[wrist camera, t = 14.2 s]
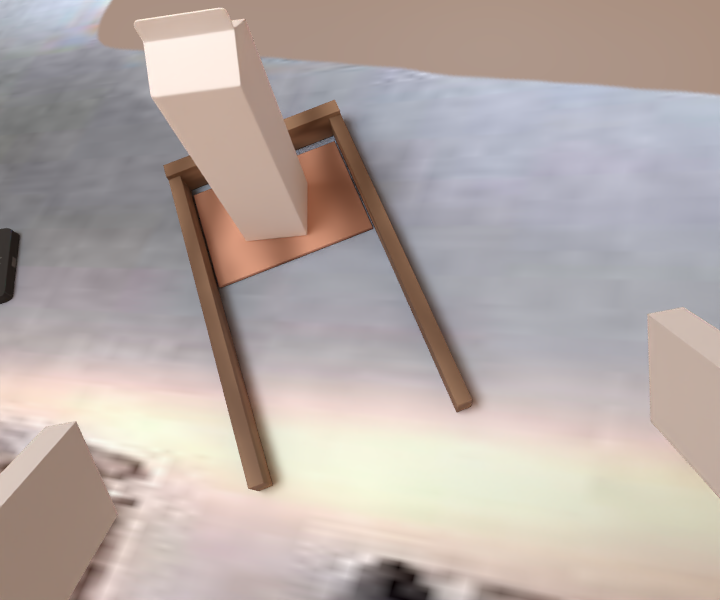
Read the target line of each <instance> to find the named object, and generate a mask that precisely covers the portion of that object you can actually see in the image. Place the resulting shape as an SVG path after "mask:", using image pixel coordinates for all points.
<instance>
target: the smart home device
mask: <svg viewBox="0 0 720 600" xmlns="http://www.w3.org/2000/svg"><path fill="white" fill-rule="evenodd" d="M18 244H19V235H18V234H17V233H15V232H14V231H13V230H11V229H8V228H4V229H0V304H2V303H5V302H7V301H9V300H11V299H12V297H13V289H14V280H15V271H16V262H17V253H18Z"/></svg>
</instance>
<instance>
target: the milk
mask: <svg viewBox="0 0 720 600" xmlns="http://www.w3.org/2000/svg"><path fill="white" fill-rule="evenodd" d="M134 27H135V29H136V31H137V32H138V34H139V36H140V37H141V39H142V41H143V43H144V50H145V57H146V64H147V71H148V79H149V86H150V93H151V97H152V99H153V100H154V102H155V103H156V105H157V106H158V108H159V109H160V111H161V112H162V114H163V115H164V117H165V118H166V120H167V122H168V123H169V125H170V126H171V128H172V129H173V131H174V132H175V134H176V135H177V137H178V138H179V140H180V141H181V143H182V144H183V146H184V147H185V149H186V150H187V152H188V153H189V155H190V156H191V158H192V159H193V161H194V162H195V164H196V165H197V167H198V168H199V170H200V171H201V173H202V175H203V176H204V178H205V179H206V181H207V182H208V184H209V185H210V187H211V188H212V190H213V191H214V193H215V194H216V196H217V197H218V199H219V200H220V202H221V203H222V205H223V206H224V208H225V209H226V211H227V212H228V214H229V215H230V217H231V218H232V220H233V221H234V223H235V224H236V226H237V228H238V229H239V231H240V232H241V234H242V235H243V237H244V238H245V240H246V241H254V240H264V239H274V238H284V237H294V236H304V235H307V193H308V184H307V180H306V178H305V175H304V172H303V170H302V167H301V165H300V162H299V159H298V157H297V154H296V151H295V149H294V146H293V143H292V141H291V138H290V135H289V133H288V130H287V128H286V125H285V122H284V120H283V117H282V114H281V112H280V109H279V106H278V104H277V101H276V98H275V96H274V93H273V91H272V88H271V85H270V83H269V80H268V77H267V75H266V72H265V69H264V67H263V64H262V61H261V59H260V56H259V54H258V51H257V49H256V46H255V43H254V40H253V38H252V35H251V33H250V30H249V27H248V24H247V22H246V20H245V19H240V20H232V21H231V19H230V16H229V14H228V12H227V11H226V10H225V9H223V8H214V9H208V10H201V11H194V12H188V13H181V14H174V15H167V16H161V17H154V18H148V19H141V20H136V21H135V22H134Z"/></svg>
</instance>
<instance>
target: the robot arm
mask: <svg viewBox="0 0 720 600" xmlns="http://www.w3.org/2000/svg"><path fill="white" fill-rule="evenodd" d="M647 316H648V349H649V383H650V416H651V422H652V423H653V425H654V426H655V427H656V428H657V429H658V430H659V431H660V432H661V433H662V435H663V436H664V437H665V438H666V439H667V440H668V441H669V442H670V443H671V445H672V446H673V447H674V448H675V449H676V450H677V451H678V452H679V453H680V455H681V456H682V457H683V458H684V459H685V460H686V461H687V462H688V463H689V465H690V466H691V467H692V468H693V469H694V470H695V471H696V472H697V473H698V475H699V476H700V477H701V478H702V479H703V480H704V481H705V482H706V483H707V485H708V486H709V487H710V488H711V489H712V490H713V491H714V492H715V493H716V495H717V496H718V497H719V498H720V330H718V329H717V328H715V327H714V326H712V325H710V324H709V323H707V322H706V321H704V320H703V319H701V318H700V317H698V316H696V315H695V314H693V313H692V312H690V311H689V310H687V309H686V308H684V307H682V308H677V309H671V310H666V311H661V312H655V313H650V314H647ZM117 515H118V513H117V511H116V508H115V506H114V504H113V502H112V500H111V497H110V495H109V493H108V491H107V489H106V486H105V484H104V482H103V480H102V478H101V475H100V473H99V471H98V469H97V466H96V464H95V462H94V460H93V458H92V455H91V453H90V451H89V449H88V447H87V444H86V442H85V440H84V438H83V436H82V433H81V431H80V429H79V427H78V424H77V422H76V421H75V422H70V423H64V424H59V425H54V426H48V427H45V428H44V429H43V430H42V431H41V432H40V433H39V434H38V435H37V436H36V437H35V438H34V439H33V440H32V441H31V443H30V444H29V445H28V446H27V447H26V448H25V449H24V450H23V451H22V452H21V453H20V454H19V455H18V456H17V457H16V458H15V459H14V460H13V461H12V462H11V463H10V464H9V465H8V467H7V468H6V469H5V470H4V471H3V472H2V473H1V474H0V600H68V599H69V597H70V596H71V594H72V592H73V591H74V589H75V587H76V585H77V584H78V582H79V580H80V578H81V577H82V575H83V573H84V572H85V570H86V568H87V566H88V565H89V563H90V561H91V560H92V558H93V556H94V554H95V553H96V551H97V549H98V548H99V546H100V544H101V542H102V541H103V539H104V537H105V536H106V534H107V532H108V530H109V529H110V527H111V525H112V524H113V522H114V520H115V518H116V517H117Z"/></svg>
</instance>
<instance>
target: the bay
mask: <svg viewBox="0 0 720 600" xmlns="http://www.w3.org/2000/svg"><path fill="white" fill-rule="evenodd" d="M283 120H284V122H285V125H286V128H287V130H288V133H289V135H290V138H291V141H292V143H293V146H294V149H295V150H297V149H300V148H302V147H305V146H307V145H310V144H313V143H315V142H318V141H320V140H323V139H326V138H328V137H331V136H333V135H334V137H335V140H336V142H337V144H338V146H339V149H340V151H341V153H342V155H343V158H344V160H345V162H346V164H347V167H348V169H349V171H350V173H351V176H352V178H353V180H354V182H355V185H356V187H357V189H358V191H359V194H360V196H361V198H362V200H363V203H364V205H365V207H366V209H367V212H368V214H369V216H370V218H371V221H372V223H373V225H374V227H375V230H376V232H377V234H378V236H379V239H380V241H381V243H382V245H383V248H384V250H385V252H386V254H387V257H388V259H389V261H390V263H391V266H392V268H393V270H394V272H395V275H396V277H397V279H398V281H399V284H400V286H401V288H402V290H403V293H404V295H405V297H406V299H407V302H408V304H409V306H410V308H411V311H412V313H413V315H414V317H415V320H416V322H417V324H418V326H419V329H420V331H421V333H422V335H423V338H424V340H425V342H426V344H427V347H428V349H429V351H430V353H431V356H432V358H433V360H434V362H435V365H436V367H437V369H438V372H439V374H440V376H441V378H442V381H443V383H444V385H445V387H446V390H447V392H448V394H449V396H450V399H451V401H452V403H453V405H454V408H455V410H456V412H459V411H461V410H464V409H466V408H469V407H471V403H472V398H471V396H470V394H469V391H468V389H467V387H466V385H465V383H464V381H463V378H462V376H461V374H460V372H459V370H458V368H457V365H456V363H455V361H454V359H453V357H452V355H451V352H450V350H449V348H448V346H447V344H446V342H445V339H444V337H443V335H442V333H441V331H440V329H439V326H438V324H437V322H436V320H435V318H434V316H433V313H432V311H431V309H430V307H429V305H428V303H427V300H426V298H425V296H424V294H423V292H422V290H421V287H420V285H419V283H418V281H417V279H416V277H415V274H414V272H413V270H412V268H411V266H410V264H409V261H408V259H407V257H406V255H405V253H404V251H403V248H402V246H401V244H400V242H399V240H398V238H397V235H396V233H395V231H394V229H393V227H392V225H391V222H390V220H389V218H388V216H387V214H386V212H385V209H384V207H383V205H382V203H381V201H380V199H379V196H378V194H377V192H376V190H375V188H374V186H373V183H372V181H371V179H370V177H369V175H368V173H367V170H366V168H365V166H364V164H363V162H362V160H361V157H360V155H359V153H358V151H357V149H356V147H355V144H354V142H353V140H352V138H351V136H350V134H349V131H348V129H347V127H346V125H345V123H344V121H343V118H342V116H341V114H340V110H339V108H338V106H337V104H336V101H335V100H333V101H330V102H328V103H325V104H322V105H320V106H317V107H315V108H312V109H309V110H307V111H304V112H302V113H299V114H296V115H294V116H291V117H289V118H286V119H283ZM297 157H298V159H299V162H300V165H301V167H302V170H303V172H304V175H305V178H306V180H307V184H308V193H307V235H304V236H294V237H284V238H274V239H264V240H254V241H246V240H245V238H244V237H243V235H242V234H241V232H240V231H239V229H238V228H237V226H236V224H235V223H234V221H233V220H232V218H231V217H230V215H229V214H228V212H227V211H226V209H225V208H224V206H223V205H222V203H221V202H220V200H219V199H218V197H217V196H216V194H215V193H214V191H213V190H212V189H209V190H207V191H204V192H201V193H199V194H196V195H194V199H195V202H196V206H197V209H198V213H199V217H200V220H201V224H202V227H203V231H204V234H205V238H206V242H207V245H208V249H209V252H210V256H211V260H212V263H213V267H214V270H215V274H216V277H217V281H218V285H219V287H220V288H222V287H224V286H227V285H230V284H232V283H235V282H237V281H240V280H242V279H245V278H248V277H250V276H253V275H255V274H258V273H260V272H263V271H266V270H268V269H271V268H273V267H276V266H278V265H281V264H283V263H286V262H289V261H291V260H294V259H296V258H299V257H301V256H304V255H307V254H309V253H312V252H314V251H317V250H319V249H322V248H325V247H327V246H330V245H332V244H335V243H337V242H340V241H343V240H345V239H348V238H350V237H353V236H355V235H358V234H361V233H363V232H366V231H368V230H371V229H373V227H372V225H371V223H370V221H369V218H368V216H367V214H366V211H365V209H364V207H363V205H362V202H361V200H360V198H359V196H358V193H357V191H356V189H355V187H354V184H353V182H352V180H351V178H350V175H349V173H348V171H347V168H346V166H345V164H344V162H343V159H342V157H341V155H340V153H339V150H338V148H337V146H336V144H335V141H334V142H331V143H329V144H326V145H323V146H321V147H318V148H316V149H313V150H310V151H308V152H305V153H303V154H300V155H297ZM163 166H164V170H165V174H166V177H167V178H168V180H169V183H170V187H171V191H172V195H173V199H174V202H175V206H176V210H177V214H178V218H179V222H180V226H181V230H182V233H183V237H184V241H185V245H186V249H187V253H188V257H189V261H190V264H191V268H192V272H193V276H194V280H195V284H196V288H197V292H198V295H199V299H200V303H201V307H202V311H203V315H204V319H205V322H206V326H207V330H208V334H209V338H210V342H211V346H212V350H213V353H214V357H215V361H216V365H217V369H218V373H219V377H220V381H221V384H222V388H223V392H224V396H225V400H226V404H227V408H228V412H229V415H230V419H231V423H232V427H233V431H234V435H235V439H236V443H237V446H238V450H239V454H240V458H241V462H242V466H243V470H244V474H245V477H246V481H247V485H248V489H252V490H256V491H260V490H263V489H265V488H268V487H270V486H273V484H272V481H271V477H270V473H269V470H268V466H267V463H266V459H265V455H264V452H263V448H262V445H261V441H260V437H259V434H258V430H257V427H256V423H255V419H254V416H253V412H252V409H251V405H250V401H249V398H248V394H247V391H246V387H245V383H244V380H243V376H242V373H241V369H240V365H239V362H238V358H237V355H236V351H235V347H234V344H233V340H232V337H231V333H230V329H229V326H228V322H227V319H226V315H225V311H224V308H223V304H222V301H221V297H220V293H219V290H218V286H217V283H216V279H215V275H214V272H213V268H212V265H211V261H210V257H209V254H208V250H207V247H206V243H205V239H204V236H203V232H202V229H201V225H200V221H199V218H198V214H197V211H196V207H195V203H194V200H193V196H192V193H191V190H193V189H196V188H198V187H201V186H203V185H206V184H208V182H207V181H206V179H205V178H204V176H203V175H202V173H201V171H200V170H199V168H198V167H197V165H196V164H195V162H194V161H193V159H192V158H191V156H190V155H189V156H187V157H184V158H182V159H179V160H176V161H174V162H171V163H169V164H166V165H163Z"/></svg>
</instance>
